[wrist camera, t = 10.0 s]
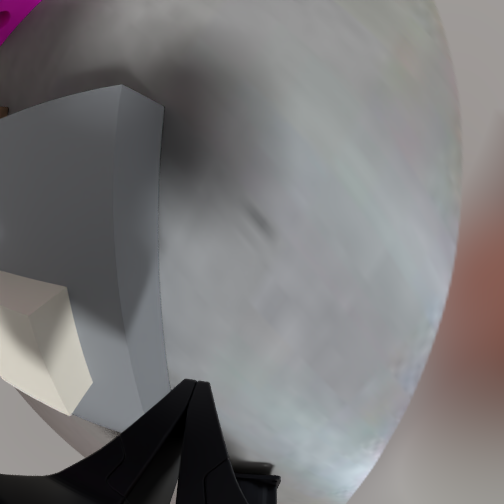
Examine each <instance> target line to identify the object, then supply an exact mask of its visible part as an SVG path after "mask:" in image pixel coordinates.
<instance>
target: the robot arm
mask: <svg viewBox="0 0 504 504" xmlns="http://www.w3.org/2000/svg"><path fill="white" fill-rule="evenodd" d="M177 480H178V486H177V496H176V504H277V488H278V486H279V484H280V482H281V477H280V476H276V475H251V474H238V473H234V472H233V469H232V465H231V462H230V460H229V456H228V452H227V449H226V445H225V441H224V438H223V434H222V430H221V427H220V423H219V419H218V415H217V411H216V407H215V403H214V399H213V395H212V390H211V386H210V383H209V382H205V381H198V382H197V381H196V380H192V379H184V380H183V381H182V382H181V383H179V384H178V385H177V386H176V387H175V388H174V389H173V390H171V391H170V392H169V393H168V394H167V395H166V396H165V397H163V398H162V399H161V400H160V401H159V402H158V403H156V404H155V405H154V406H153V407H152V408H151V409H149V410H148V411H147V412H146V413H145V414H144V415H142V416H141V417H140V418H139V419H138V420H136V421H135V422H134V423H133V424H132V425H130V426H129V427H128V428H127V429H125V430H124V431H123V432H122V433H120V436H119V435H118V436H117V437H115V438H114V439H113V440H112V441H110V442H109V443H108V444H106V445H105V446H104V447H102V448H101V449H99V450H98V451H96V452H94V453H93V454H91V455H90V456H88V457H86V458H84V459H83V460H81V461H79V462H78V463H75V464H74V465H72V466H70V467H68V468H66V469H64V470H62V471H60V472H58V473H55V474H52V475H46V476H22V475H5V474H0V504H170V501H171V498H172V495H173V492H174V489H175V486H176V483H177Z"/></svg>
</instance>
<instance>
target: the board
mask: <svg viewBox="0 0 504 504" xmlns="http://www.w3.org/2000/svg"><path fill="white" fill-rule="evenodd" d="M164 108H165V107H164V106H162V105H160V104H158V103H157V102H155V101H153V100H151V99H149V98H147V97H146V96H144V95H142V94H140V93H138V92H136V91H134V90H132V89H130V88H128V87H126V86H124V85H122V84H120V85H114V86H109V87H103V88H98V89H94V90H89V91H85V92H80V93H76V94H72V95H69V96H65V97H61V98H58V99H54V100H51V101H48V102H44V103H41V104H38V105H35V106H32V107H29V108H27V109H24V110H21V111H19V112H16V113H13V114H11V115H8V116H6V117H4V118H1V119H0V271H4V272H7V273H11V274H15V275H19V276H22V277H26V278H30V279H34V280H39V281H43V282H47V283H51V284H56V285H60V286H65V287H67V290H68V295H69V300H70V305H71V310H72V314H73V318H74V322H75V326H76V330H77V334H78V338H79V341H80V345H81V348H82V352H83V355H84V358H85V361H86V364H87V367H88V370H89V373H90V376H91V379H92V382H93V383H92V385H91V386H90V387H89V389H88V390H87V392H86V393H85V395H84V396H83V398H82V399H81V401H80V402H79V404H78V405H77V407H76V408H75V410H74V411H73V413H72V414H73V415H75V416H77V417H80V418H82V419H85V420H87V421H90V422H92V423H95V424H97V425H100V426H103V427H106V428H108V429H111V430H114V431H117V432H120V433H122V432H123V431H124V430H125V429H127V428H128V427H129V426H130V425H132V424H133V423H134V422H135V421H136V420H138V419H139V418H140V417H141V416H142V415H144V414H145V413H146V412H147V411H148V410H149V409H151V408H152V407H153V406H154V405H155V404H156V403H158V402H159V401H160V400H161V399H162V398H163V397H165V396H166V395H167V394H168V393H169V392H170V391H171V390H170V383H169V376H168V369H167V361H166V353H165V344H164V335H163V324H162V312H161V298H160V281H159V255H158V195H159V170H160V153H161V139H162V127H163V117H164Z"/></svg>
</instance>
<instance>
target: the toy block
mask: <svg viewBox="0 0 504 504" xmlns="http://www.w3.org/2000/svg"><path fill="white" fill-rule="evenodd" d="M41 1H42V0H0V46H1V45H2V43H3V42H4V41H5V40H6V39H7V37H8V36H9V35H10V34H11V33H12V31H13V30H14V29H15V28H16V27H17V26H18V24H19V23H20V22H21V21H22V20H23V19H24V18H25V17H26V16H27V15H28V14H29V13H30V12H31V11H32V10H33V9H34V8H35V7H36V6H37V5H38V4H39V3H40V2H41Z"/></svg>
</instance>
